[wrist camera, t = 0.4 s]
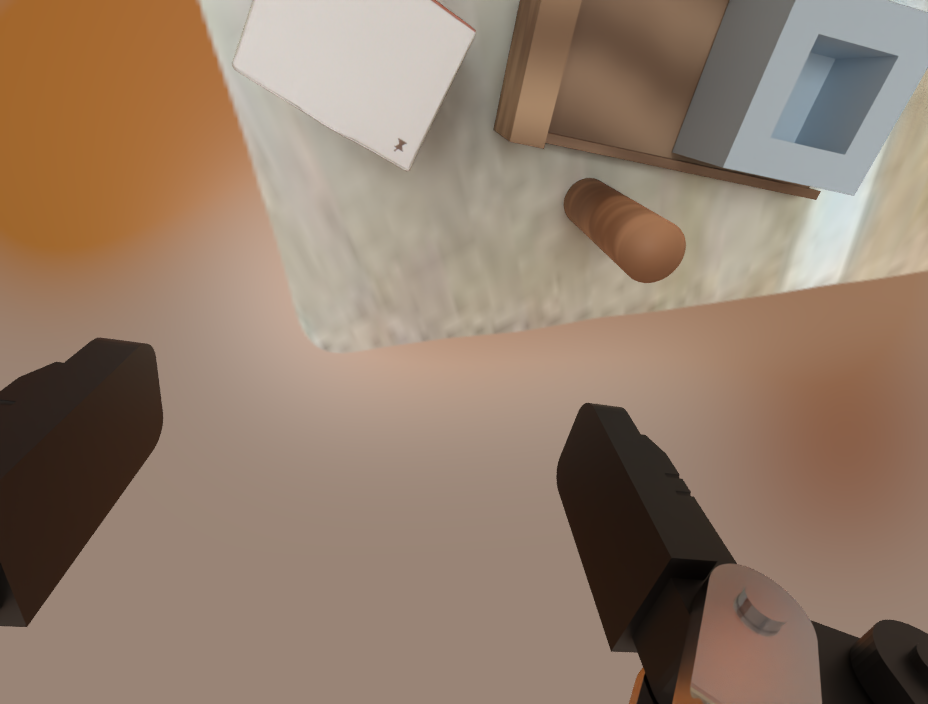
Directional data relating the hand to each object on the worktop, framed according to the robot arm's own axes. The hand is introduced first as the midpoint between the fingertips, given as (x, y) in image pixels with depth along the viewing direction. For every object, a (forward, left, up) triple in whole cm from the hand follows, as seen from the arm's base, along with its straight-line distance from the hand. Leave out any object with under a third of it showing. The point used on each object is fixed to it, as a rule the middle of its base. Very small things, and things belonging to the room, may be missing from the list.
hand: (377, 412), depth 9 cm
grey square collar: (-9, +22, -27) cm, 36 cm away
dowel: (0, +13, -28) cm, 31 cm away
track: (-9, +17, -28) cm, 34 cm away
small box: (-6, -3, -28) cm, 29 cm away
